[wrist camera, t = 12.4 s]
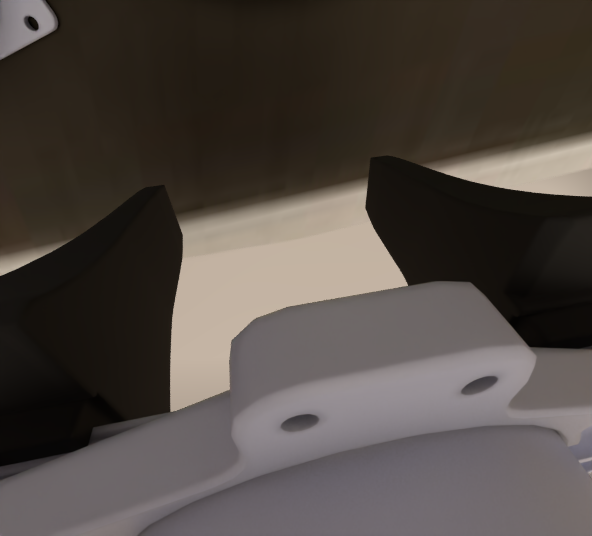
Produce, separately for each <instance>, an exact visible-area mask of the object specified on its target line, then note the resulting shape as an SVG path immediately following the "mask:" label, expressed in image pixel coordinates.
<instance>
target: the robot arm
mask: <svg viewBox="0 0 592 536" xmlns="http://www.w3.org/2000/svg"><path fill="white" fill-rule="evenodd" d="M29 16H31V17H33V18H34V19H35V20H36V21H37V22H38V24H39V29H38V30H36V29H34V28H32V27H31V26H30V24H29V22H28V17H29ZM57 26H58V20H57V17H56V15H55V13H54V12H53V10H52V9H51V8H50V6H49V5H48V3H47V2H46V1H45V0H0V60H1V59H3V58H5V57H7V56H9V55H11V54H12V53H14V52H16V51H18V50H20V49H22V48H24V47H25V46H27V45H29V44H31V43H33V42H35V41H37V40H38V39H40V38H42V37H44V36H46V35H48V34H50V33H52V32H53V31H55V30H56V29H57ZM365 208H366V211H367V213H368V216H369V218H370V221H371V223H372V225H373V227H374V229H375V231H376V233H377V234H378V236H379V237H380V239H381V241H382V242H383V244H384V245H385V247H386V249H387V250H388V252H389V253H390V255H391V256H392V258H393V260H394V261H395V263H396V264H397V266H398V267H399V269H400V271H401V272H402V274H403V276H404V278H405V279H406V282H407V284H408V286H406V287H399V288H394V289H388V290H383V291H376V292H371V293H365V294H359V295H353V296H348V297H342V298H336V299H331V300H324V301H319V302H313V303H307V304H302V305H296V306H290V307H286V308H283V309H281V310H278V311H275V312H272V313H269V314H267V315H264V316H261V317H258V318H256V319H255V320H253V321H252V322H251V323H250V324H249V325H248V326H247V327H246V328H244V329H243V330H242V331H241V332H240V333H239V334H238V335H237V336H236V337H235V338H234V339H233V340H232V342H231V351H230V360H229V365H230V390H228V391H225V392H223V393H220V394H218V395H215V396H213V397H210V398H208V399H205V400H203V401H200V402H198V403H195V404H193V405H190V406H187V407H185V408H182V409H180V410H177V411H174V412H170V353H171V351H170V350H171V329H172V315H173V307H174V302H175V296H176V291H177V285H178V280H179V274H180V269H181V262H182V252H183V234H182V232H181V229H180V226H179V224H178V221H177V218H176V216H175V213H174V210H173V208H172V205H171V202H170V200H169V197H168V194H167V191H166V189H165V186H164V185H161V186H153V187H146V188H144V189H142V190H140V191H139V192H137V193H136V194H135V195H133V196H132V197H131V198H129V199H128V200H127V201H126V202H124V203H123V204H122V205H121V206H119V207H118V208H117V209H115V210H114V211H113V212H112V213H110V214H109V215H108V216H106V217H105V218H104V219H102V220H101V221H100V222H98V223H97V224H95V225H94V226H93V227H91V228H90V229H88V230H87V231H86V232H84V233H83V234H81V235H80V236H78V237H76V238H75V239H73V240H72V241H70V242H68V243H67V244H65V245H63V246H61V247H60V248H58V249H56V250H54V251H52V252H51V253H49V254H47V255H45V256H43V257H41V258H39V259H36V260H34V261H32V262H30V263H28V264H26V265H24V266H22V267H20V268H18V269H16V270H14V271H11V272H9V273H7V274H4V275H2V276H0V536H592V478H591V477H590V476H589V474H590V473H592V197H585V196H566V195H553V194H542V193H532V192H525V191H518V190H511V189H505V188H499V187H494V186H489V185H484V184H480V183H475V182H471V181H467V180H464V179H460V178H457V177H453V176H450V175H447V174H444V173H441V172H438V171H435V170H432V169H429V168H426V167H423V166H420V165H418V164H415V163H412V162H409V161H406V160H403V159H400V158H397V157H393V156H381V157H373V158H371V160H370V170H369V179H368V188H367V197H366V206H365Z"/></svg>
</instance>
